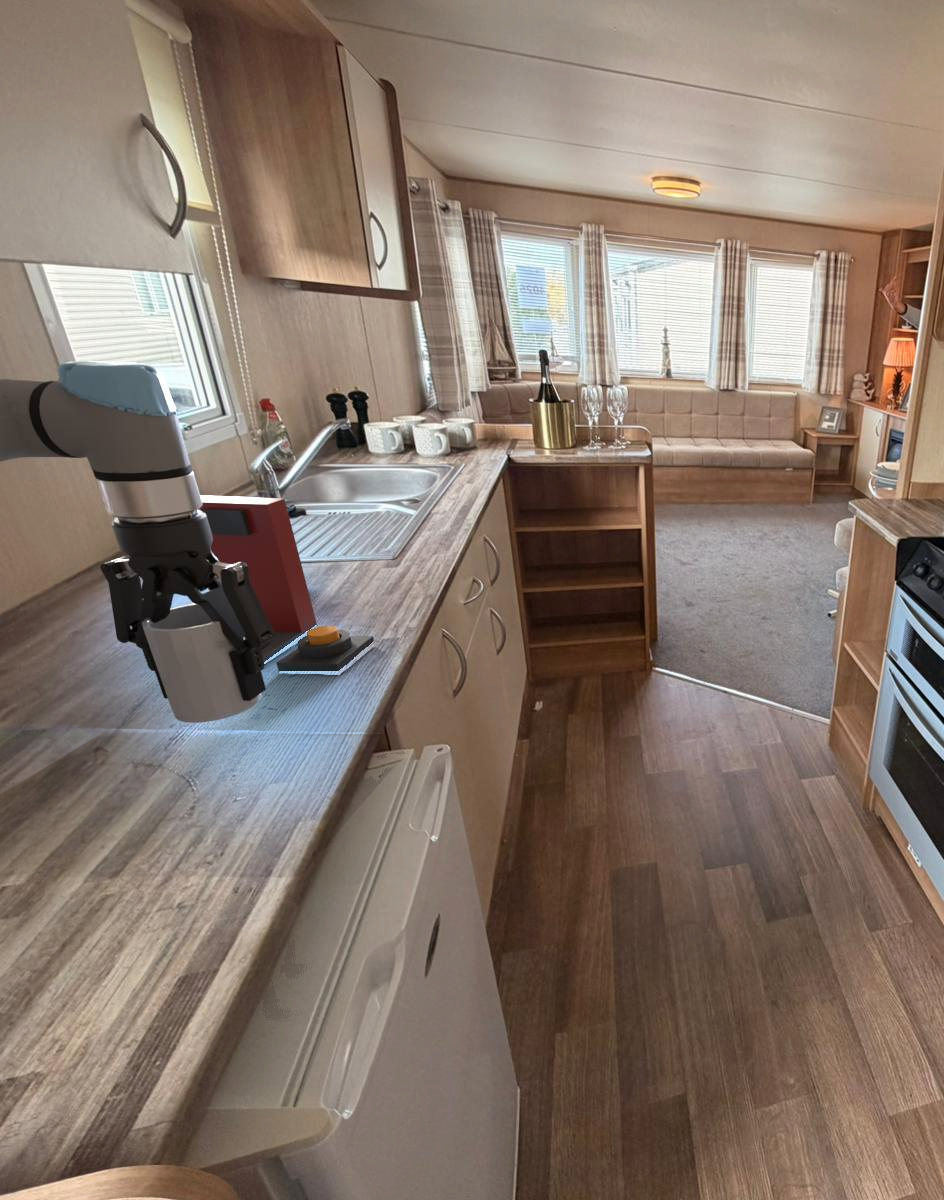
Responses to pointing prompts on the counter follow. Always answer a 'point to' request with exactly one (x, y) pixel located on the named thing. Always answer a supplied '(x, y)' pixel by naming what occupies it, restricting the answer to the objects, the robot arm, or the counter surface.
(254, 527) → the coffee machine
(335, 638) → the button
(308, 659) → the control block
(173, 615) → the white tumbler
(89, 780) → the counter surface
